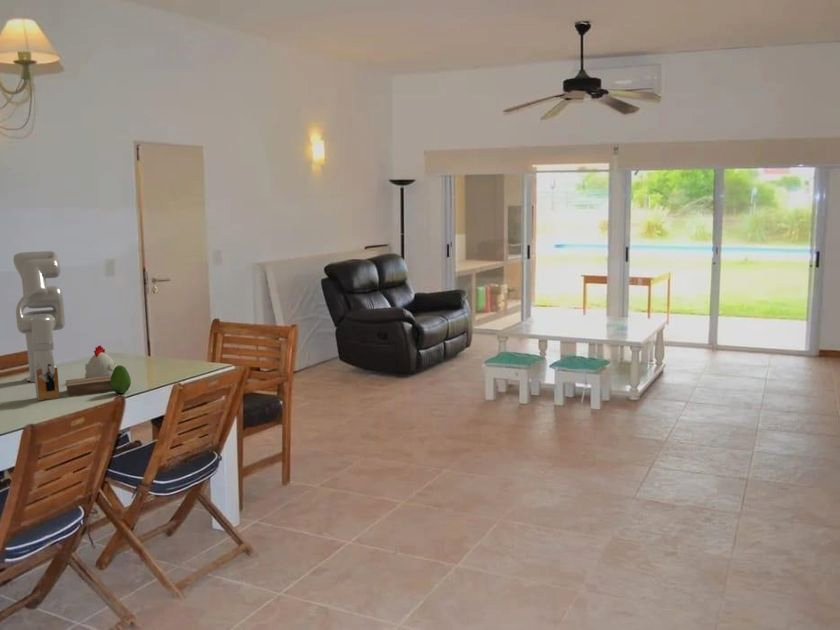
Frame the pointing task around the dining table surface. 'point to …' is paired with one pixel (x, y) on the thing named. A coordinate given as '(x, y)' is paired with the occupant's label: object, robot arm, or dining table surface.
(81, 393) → the walnut riser block
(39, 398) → the small box
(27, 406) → the dining table surface
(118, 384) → the fruit
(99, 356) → the white chicken figurine
